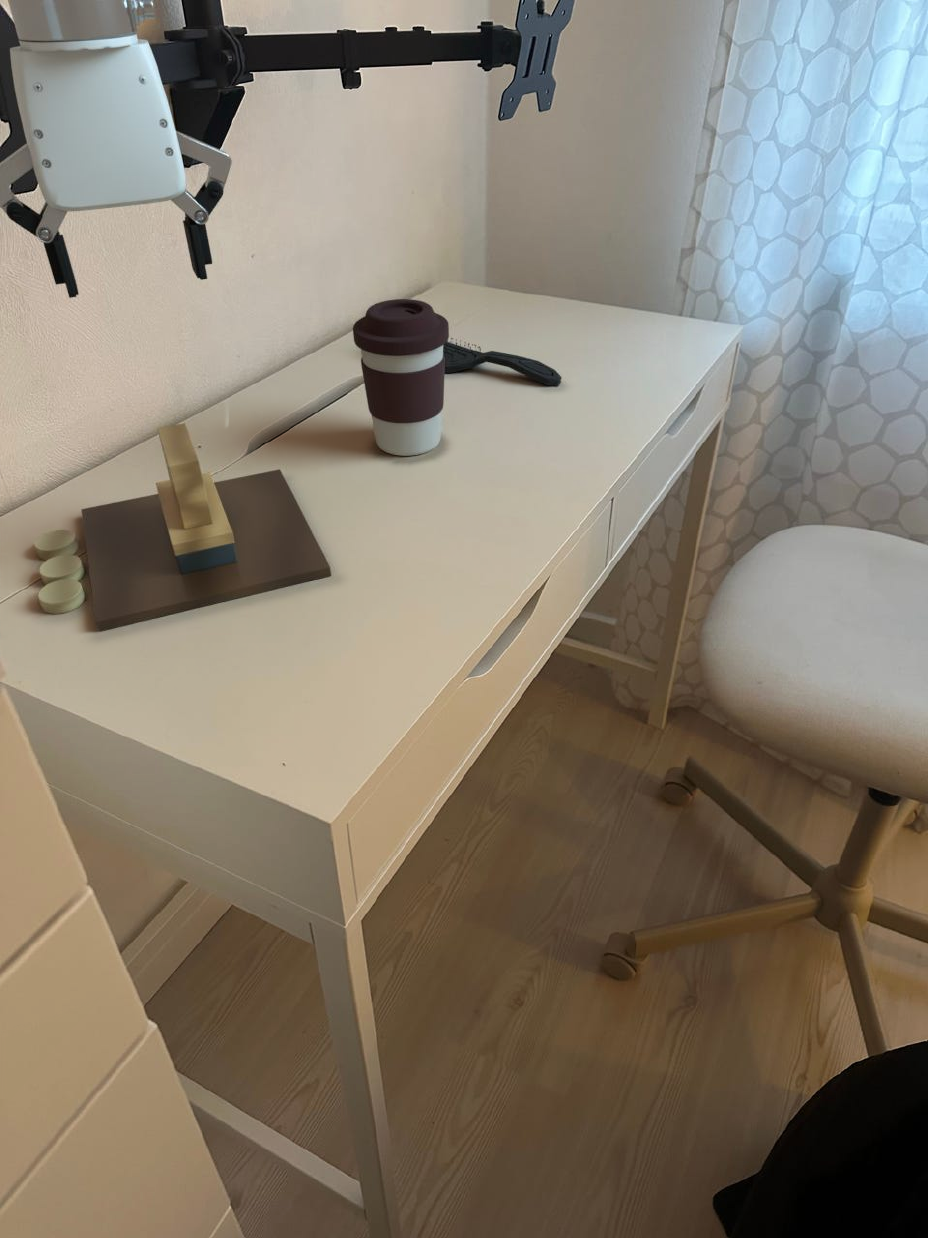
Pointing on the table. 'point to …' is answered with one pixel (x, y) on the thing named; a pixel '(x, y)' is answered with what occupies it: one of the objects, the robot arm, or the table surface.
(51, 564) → the disc
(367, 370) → the coffee cup
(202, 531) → the brush
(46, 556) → the token
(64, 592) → the token
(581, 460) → the table surface
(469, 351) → the hairbrush
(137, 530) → the tray
